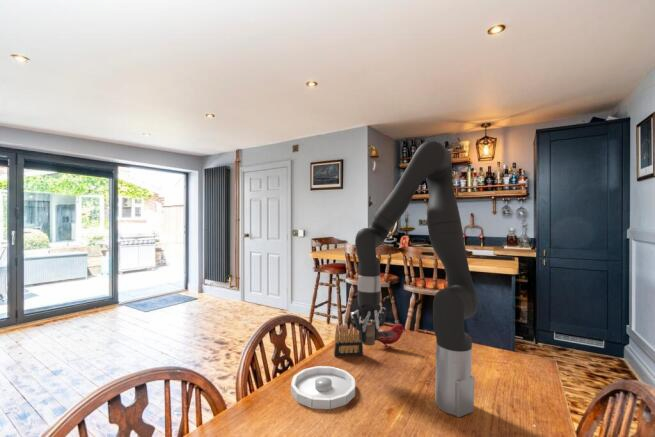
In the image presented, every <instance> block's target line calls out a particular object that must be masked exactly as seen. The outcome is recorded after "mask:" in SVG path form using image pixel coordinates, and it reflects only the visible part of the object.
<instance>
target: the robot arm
mask: <svg viewBox="0 0 655 437" xmlns="http://www.w3.org/2000/svg"><path fill="white" fill-rule="evenodd" d="M452 162H453V161H452V155H451V154H450V151H449V150H448V149H447V148H446V147H445V146H444V145H443V144H442V143H440V142H438V141H437V140H429V141H428V140H427V141H425V142H423V143H421V144H420V145H419V146H418V147H417V148H416V151H415V152H414V154H413V155H412V157H411V158H410V161H409V163H408V165H407V167H406V168H405V170H404V172H403V173H402V176H401V177H400V178H399V180H398V182H397V183H396V185H395V187H394V188H393V189H392V191H391V192H390V193H389V195H388V196H387V197H386V199H385V200H384V201H383V202H382V204H381V205H380V207H378V209H377V210H376V212H375V213H374V216H373V221H372V222H371V224H370V225H369V226H368V227H363V228H361V229H359V230H358V231H357V233H356V235H355V238H354V239H355V241H354V244H355V246H354V247H355V251H356V257H357V259H358V266H357V268H358V269H357V270H358V271H357V272H358V273H357V274H358V277H357V305H358V306H357V308H356V310H354V311H350V312H349V316H350V320H351V322H352V323H351V324H352V326H353V329H354V328H355V329H357V332H358V333H359V340H360V341H361V342H362V343H366V332H365V330H366V326H367V325H368V323H369V321H370V323H373V324H375V342H376V341H378V340H377V338H378V331H379V329H380V327H384V326H385V322H386V317H387V313H388V309H387V308H386V307H383V306H381V305H380V304H381V302H382V301H381V297H382V296H381V294H382V292H381V291H382V290H381V289H382V288H381V287H382V282H381V262H380V259H379V257H377V250H376V249H377V248H379V247H380V246H381V245H382V244H383V243H384V242H385V240H386V239H387V237H388V236H389V234H390V232H391V229H392V228H393V227H394V226H395V225H396V224H397V222H398V221H399V220H400V219H401V218H402V216H403V215H404V213H405V212H406V211H407V208H408V207H409V205H410V203H411V201H412V199H413V197H414V196H415V193H416V192H417V190H418V189H419V188H420V185H421V184H422V183H423V182H424V181H425V182H426V184H427V189H428V190H427V192H428V202H427V203H428V204H427V209H426V210H427V212H426V213H427V214H426V222H427V223H426V224H427V229H428V230H427V232H428V236H429V241H430V244H431V247H432V248H433V250H434V252H435V254H436V255H437V257H438V259H439V260H440V262H441V264H442V266H443V268H444V272H445V276H446V283H447V287H446V288H442V289H440V290H438V291H437V292H436V293H435V295H434V298H433V303H432V311H433V312H432V318H433V320H432V322H433V324H432V326H433V332H434V335H435V338H436V344H435V346H436V348H435V350H436V351H435V390H434V392H435V395H434V396H435V397H434V399H435V400H434V401H435V405H436V406H437V408H438V409H439V410H440V411H443V412H445V413H446V414H449V415H451V416H452V415H453V416H455V417H457V418H461V417H463V416H465V415H468V414H470V413H471V414H472V413H474V411H475V410H474V409H475V408H474V407H475V406H474V405H475V377H474V376H473V375H472V354H473V352H472V350H473V349H472V348H473V339H472V336H471V335H470V334H468V333H467V332H465V331H466V330H465V320H468V319H471V318H472V317H473V316H475V315H476V313H477V311H478V306H479V305H478V304H479V303H478V301H479V300H478V296H477V293H476V289H475V285H474V282H473V279H472V275H471V271H470V266H469V262H468V261H469V260H468V256H467V250H466V245H465V239H464V232H463V225H462V221H461V215H460V210H459V206H458V202H457V198H456V194H455V189H454V183H453V182H454V181H453V180H454V179H453V165H452Z"/></svg>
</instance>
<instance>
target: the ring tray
mask: <svg viewBox="0 0 655 437" xmlns="http://www.w3.org/2000/svg"><path fill="white" fill-rule="evenodd" d="M290 394H291V396H292V397H293V398H294V400H295V401H296V402H297V403H298V404H300V405H303V406H305V407H307V408H309V409H312V410H313V409H319V410H333V409H336V408H339V407H343V406H346V405H347V404H349V402H351V400H353V398H354V397H356V380H355V377H353V375H351V374H350V373H349V372H348V371H347V370H345V369H342V368H337V367H336V366H327V365H325V366H324V365H318V366H312V367H309V368H308V367H307V368H304V369H301V370H300V371H299V372H298V373H296V374H294V375H293V376H292V380H291V382H290Z"/></svg>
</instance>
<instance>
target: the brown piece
mask: <svg viewBox="0 0 655 437" xmlns="http://www.w3.org/2000/svg"><path fill="white" fill-rule="evenodd" d="M365 332H366V343H363V345H365V346H374V345H375V344H376V341H375V324H373V323H371V322H368V325H367V326H366V330H365Z"/></svg>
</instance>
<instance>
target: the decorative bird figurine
mask: <svg viewBox="0 0 655 437" xmlns="http://www.w3.org/2000/svg"><path fill="white" fill-rule="evenodd" d="M404 331H407V329H406V328H405V327H404V325H403V324H402V323H396V324H394V325H392V326H391V327H389V328H385V329H380V330H379V329H378V338H377V340H376V341H377V342H380V343H382V344H383V345H382V346H381V347H383V348H387V349H393V348H396V347H395V346H391V344H392V345H393V344H394V343H396V342H398V341H399V340H400V338H401V336H402V335H403V333H404Z"/></svg>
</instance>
